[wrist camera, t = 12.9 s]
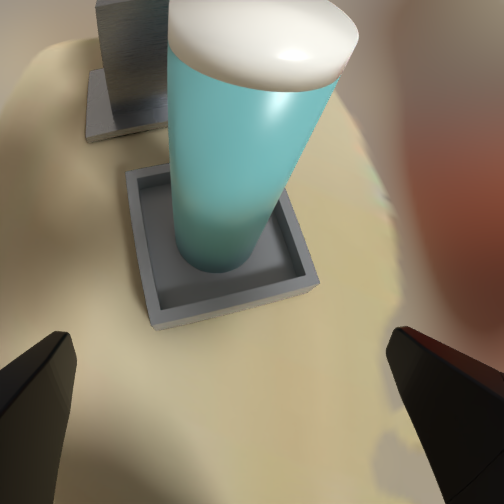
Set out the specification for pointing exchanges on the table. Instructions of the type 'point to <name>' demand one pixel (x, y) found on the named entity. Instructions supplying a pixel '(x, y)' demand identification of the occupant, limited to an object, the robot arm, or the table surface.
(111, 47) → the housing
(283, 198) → the holder tray
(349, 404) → the table surface
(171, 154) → the canister
